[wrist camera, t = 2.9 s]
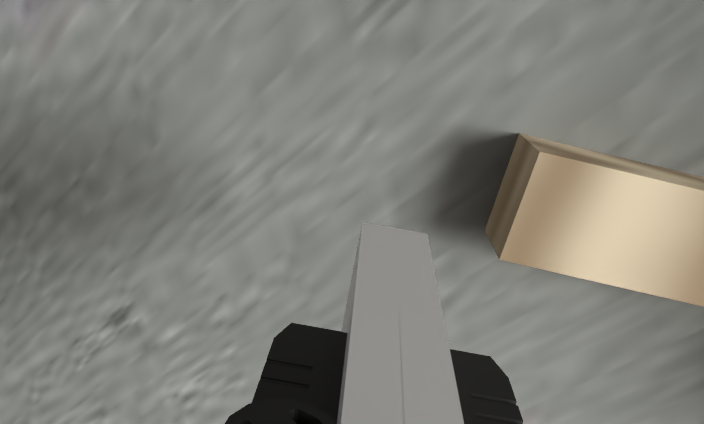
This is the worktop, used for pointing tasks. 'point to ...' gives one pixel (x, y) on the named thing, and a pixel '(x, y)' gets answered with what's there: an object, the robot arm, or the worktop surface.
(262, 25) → the worktop surface
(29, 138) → the worktop surface
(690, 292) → the slat
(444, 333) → the robot arm
